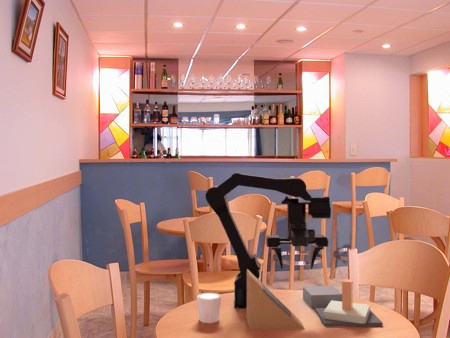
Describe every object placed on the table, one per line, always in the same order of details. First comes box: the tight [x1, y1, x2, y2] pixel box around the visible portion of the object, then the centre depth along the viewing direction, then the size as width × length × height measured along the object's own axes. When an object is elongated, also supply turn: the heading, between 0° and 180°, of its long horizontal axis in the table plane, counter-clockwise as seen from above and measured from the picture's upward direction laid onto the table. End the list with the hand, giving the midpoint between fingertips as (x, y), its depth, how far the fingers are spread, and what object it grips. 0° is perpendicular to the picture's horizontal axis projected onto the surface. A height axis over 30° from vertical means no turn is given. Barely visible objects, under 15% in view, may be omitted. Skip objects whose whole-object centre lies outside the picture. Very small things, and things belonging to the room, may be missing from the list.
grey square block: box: [302, 285, 342, 309], centre depth 156 cm, size 10×10×4 cm
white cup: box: [196, 292, 222, 324], centre depth 140 cm, size 7×7×7 cm
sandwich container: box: [246, 269, 306, 331], centre depth 136 cm, size 9×15×15 cm, turn 93°
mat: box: [314, 308, 384, 328], centre depth 141 cm, size 16×13×1 cm
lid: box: [324, 278, 371, 324], centre depth 141 cm, size 11×11×10 cm
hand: (296, 268), depth 151 cm, fingers open, 9 cm apart
